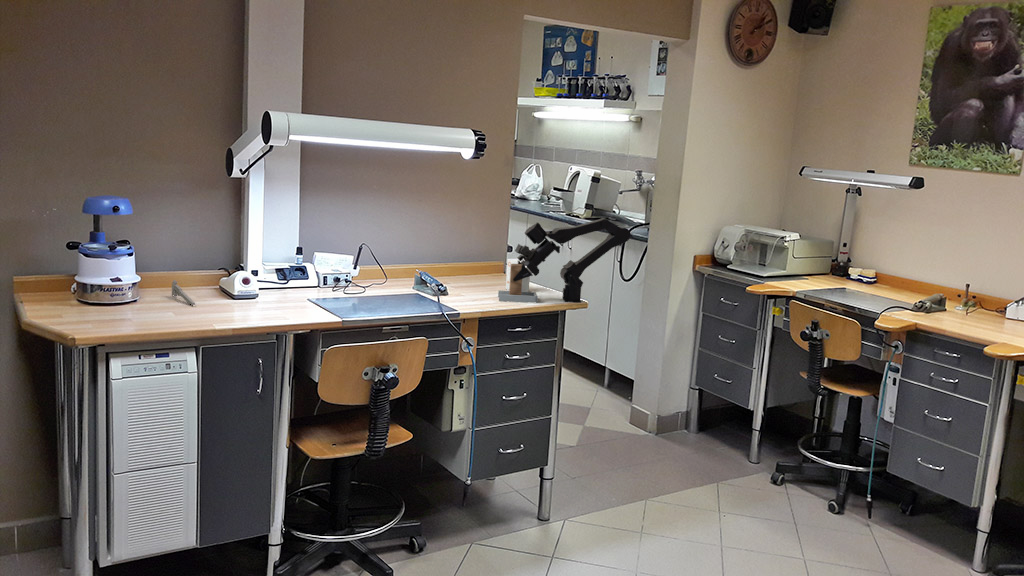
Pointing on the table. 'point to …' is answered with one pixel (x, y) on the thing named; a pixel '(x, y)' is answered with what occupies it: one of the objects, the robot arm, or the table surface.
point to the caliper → (181, 293)
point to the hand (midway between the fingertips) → (512, 279)
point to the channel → (517, 296)
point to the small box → (509, 261)
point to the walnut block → (517, 285)
